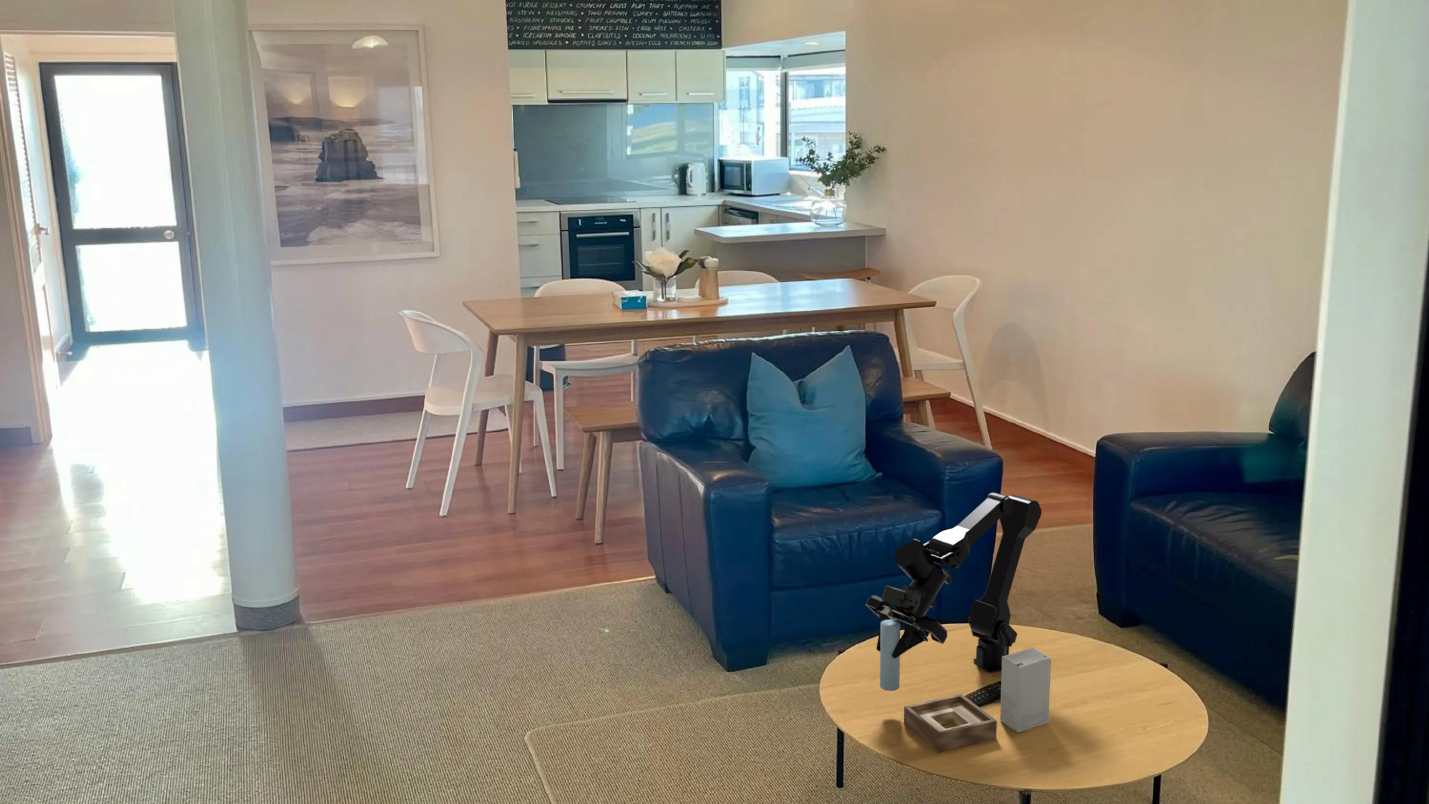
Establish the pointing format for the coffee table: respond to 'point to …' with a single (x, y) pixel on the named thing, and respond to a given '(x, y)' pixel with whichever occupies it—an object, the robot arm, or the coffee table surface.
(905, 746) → the coffee table surface
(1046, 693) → the skincare box
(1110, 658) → the coffee table surface
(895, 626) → the peg
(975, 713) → the bore box
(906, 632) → the robot arm
